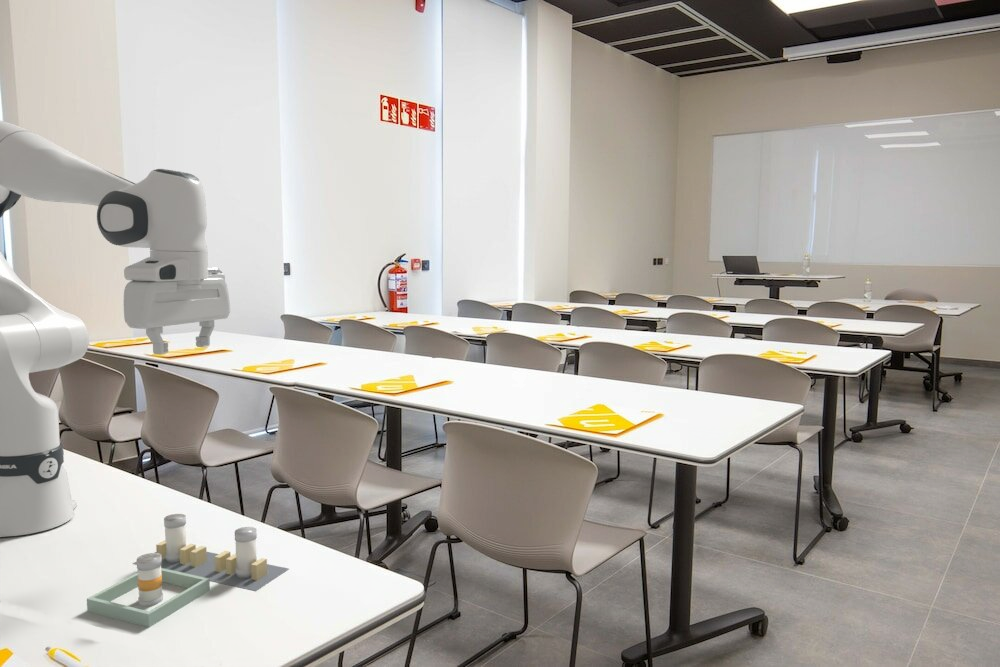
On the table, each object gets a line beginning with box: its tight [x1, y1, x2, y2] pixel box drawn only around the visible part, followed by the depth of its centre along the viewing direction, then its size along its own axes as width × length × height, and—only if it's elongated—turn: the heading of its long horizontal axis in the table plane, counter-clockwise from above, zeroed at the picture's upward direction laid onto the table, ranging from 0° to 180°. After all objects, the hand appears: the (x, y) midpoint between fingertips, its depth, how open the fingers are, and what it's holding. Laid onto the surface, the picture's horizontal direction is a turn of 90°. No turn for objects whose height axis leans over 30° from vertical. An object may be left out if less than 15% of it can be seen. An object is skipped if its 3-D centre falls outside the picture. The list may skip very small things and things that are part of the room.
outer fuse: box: [234, 526, 258, 578], centre depth 112 cm, size 3×3×7 cm
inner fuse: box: [163, 513, 187, 563], centre depth 116 cm, size 3×3×7 cm
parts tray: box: [86, 568, 211, 628], centre depth 103 cm, size 11×11×3 cm
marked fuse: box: [136, 552, 164, 607], centre depth 103 cm, size 3×3×7 cm
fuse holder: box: [132, 540, 290, 592], centre depth 114 cm, size 24×8×4 cm, turn 70°
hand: (182, 350), depth 122 cm, fingers open, 8 cm apart
